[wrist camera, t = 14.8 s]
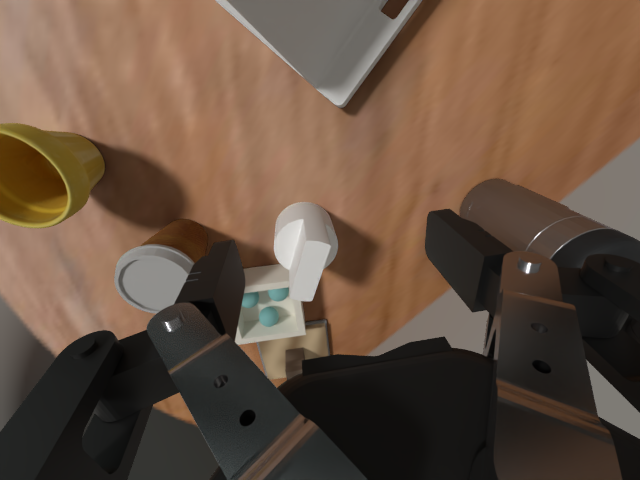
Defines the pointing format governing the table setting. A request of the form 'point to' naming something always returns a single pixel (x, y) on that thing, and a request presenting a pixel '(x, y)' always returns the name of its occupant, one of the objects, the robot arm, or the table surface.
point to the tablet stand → (324, 37)
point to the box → (288, 309)
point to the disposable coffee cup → (160, 266)
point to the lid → (293, 351)
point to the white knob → (304, 246)
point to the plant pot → (45, 175)
